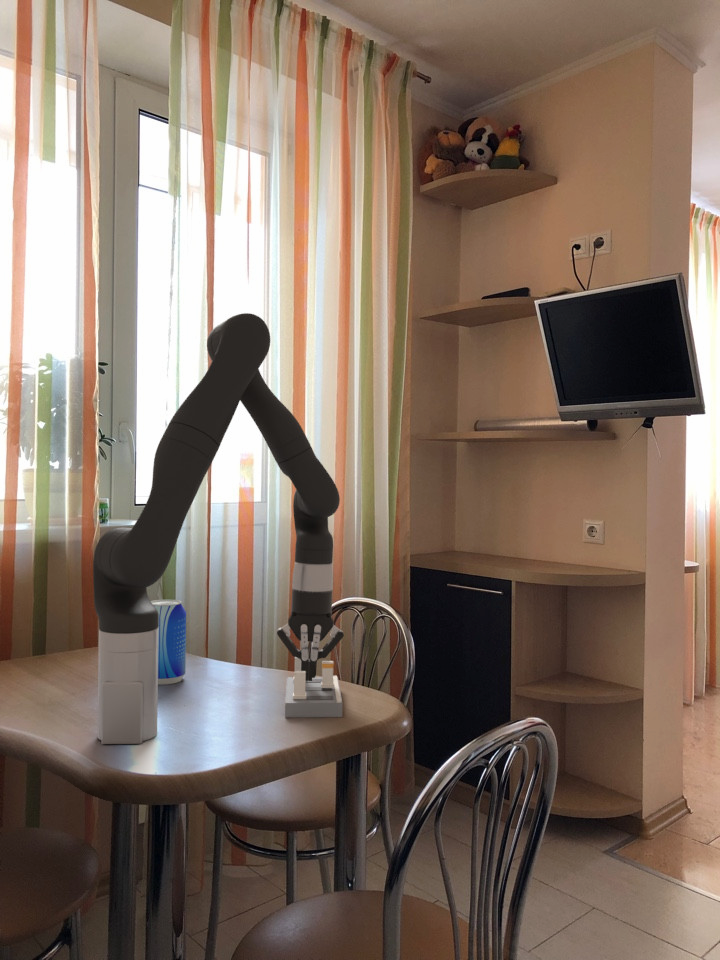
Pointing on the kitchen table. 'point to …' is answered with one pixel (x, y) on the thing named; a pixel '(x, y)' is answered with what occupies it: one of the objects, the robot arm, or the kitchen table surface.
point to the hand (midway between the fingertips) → (308, 679)
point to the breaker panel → (311, 696)
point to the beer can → (171, 641)
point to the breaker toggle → (327, 674)
